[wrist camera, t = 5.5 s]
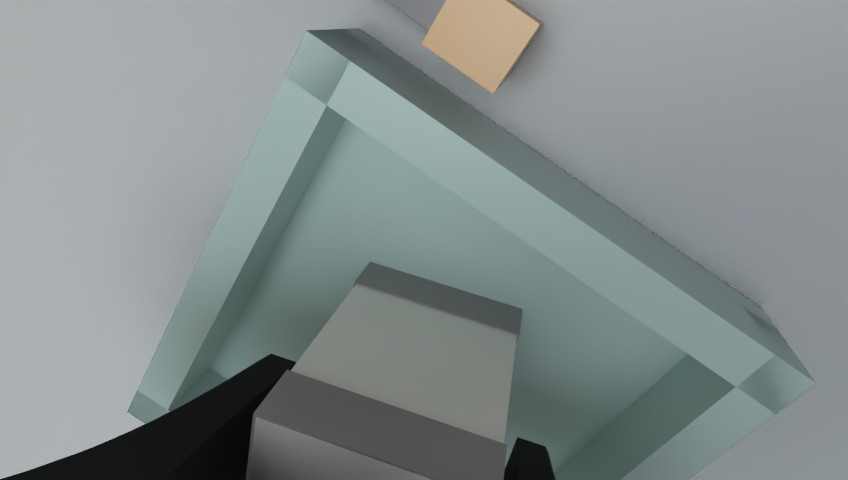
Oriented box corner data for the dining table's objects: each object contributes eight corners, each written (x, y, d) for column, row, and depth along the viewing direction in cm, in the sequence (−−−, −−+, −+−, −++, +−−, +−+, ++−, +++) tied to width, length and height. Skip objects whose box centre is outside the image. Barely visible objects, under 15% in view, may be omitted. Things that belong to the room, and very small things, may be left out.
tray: (762, 309, 13) (816, 383, 10) (485, 548, 18) (473, 639, 16) (358, 28, 13) (305, 30, 10) (191, 352, 18) (127, 411, 15)
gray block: (522, 308, 14) (501, 501, 8) (480, 428, 15) (438, 653, 10) (370, 261, 14) (253, 413, 9) (345, 382, 16) (235, 573, 10)
